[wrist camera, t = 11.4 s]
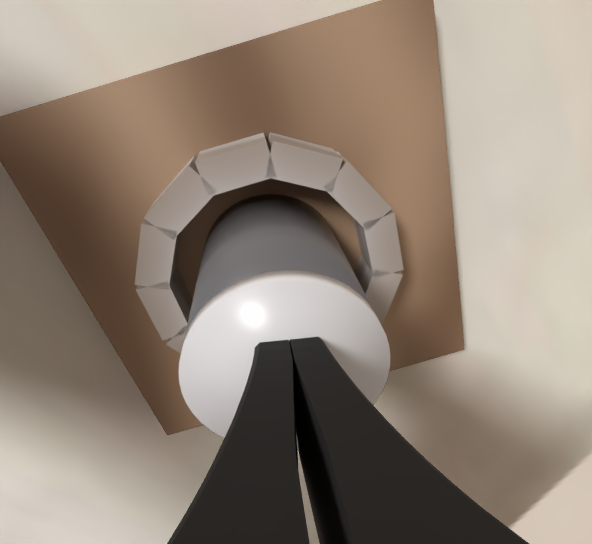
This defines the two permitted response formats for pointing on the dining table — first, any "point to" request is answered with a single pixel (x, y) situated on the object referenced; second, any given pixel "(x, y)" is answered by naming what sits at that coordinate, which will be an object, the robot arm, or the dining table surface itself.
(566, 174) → the dining table surface
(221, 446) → the robot arm
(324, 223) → the white-capped gray cylinder
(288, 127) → the socket board
